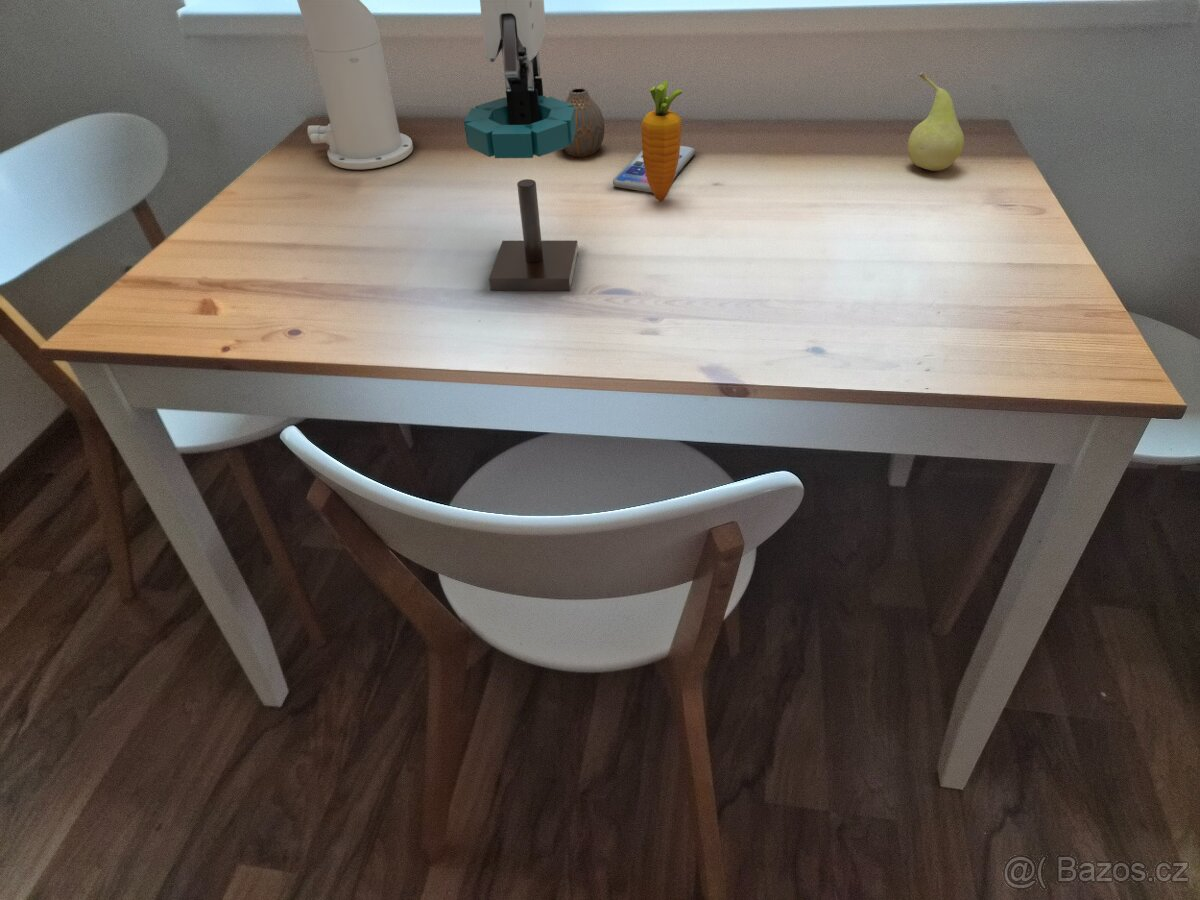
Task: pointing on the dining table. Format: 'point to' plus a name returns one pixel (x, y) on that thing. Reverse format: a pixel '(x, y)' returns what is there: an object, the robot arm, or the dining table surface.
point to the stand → (533, 253)
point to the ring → (520, 129)
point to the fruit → (936, 134)
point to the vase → (585, 124)
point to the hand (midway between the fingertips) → (527, 121)
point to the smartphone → (636, 175)
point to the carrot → (661, 142)
